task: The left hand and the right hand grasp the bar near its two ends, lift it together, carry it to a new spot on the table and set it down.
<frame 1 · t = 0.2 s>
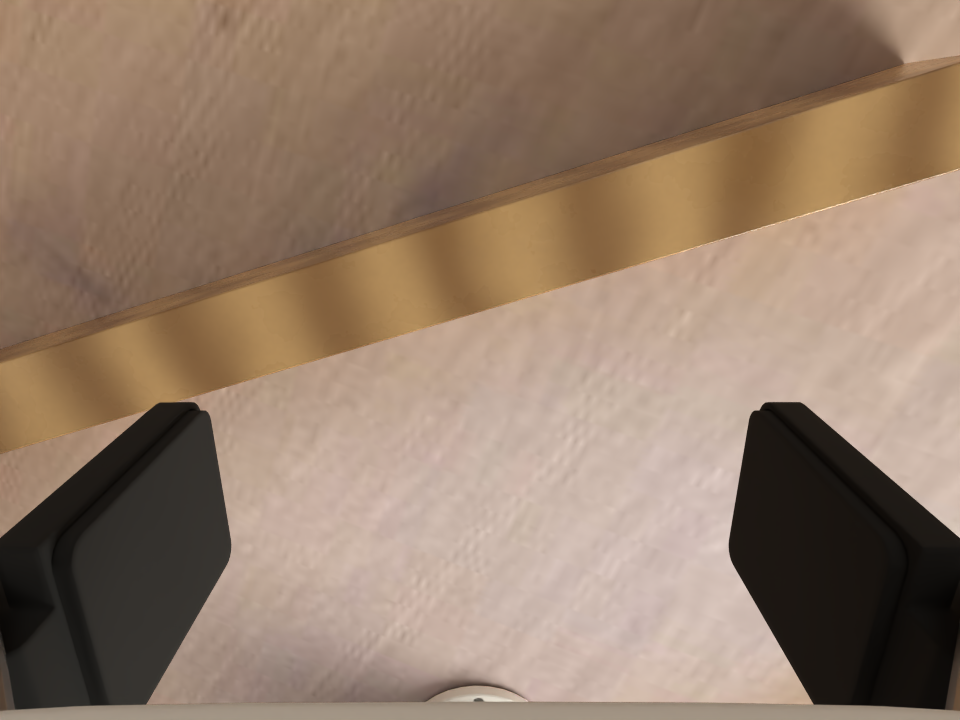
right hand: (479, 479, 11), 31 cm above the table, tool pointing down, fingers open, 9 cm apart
bar: (357, 278, 41), on the table
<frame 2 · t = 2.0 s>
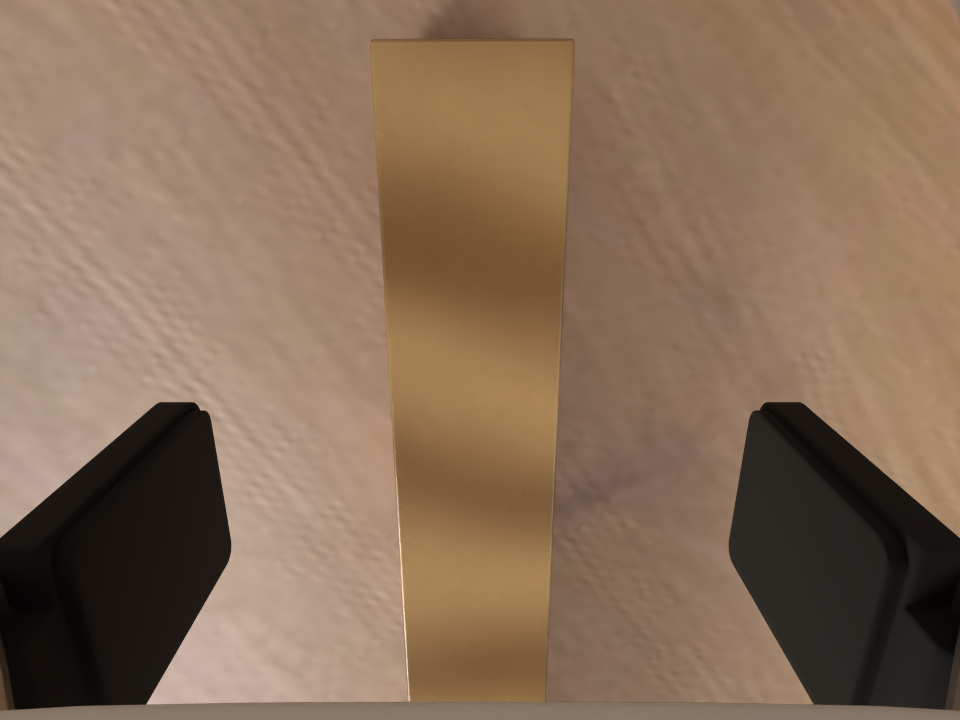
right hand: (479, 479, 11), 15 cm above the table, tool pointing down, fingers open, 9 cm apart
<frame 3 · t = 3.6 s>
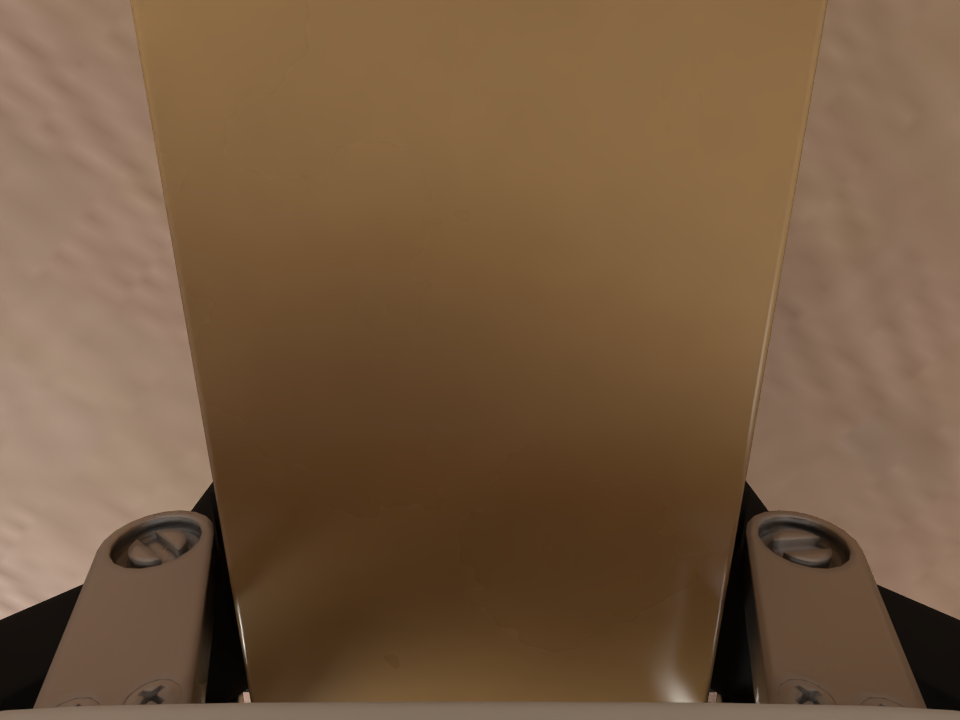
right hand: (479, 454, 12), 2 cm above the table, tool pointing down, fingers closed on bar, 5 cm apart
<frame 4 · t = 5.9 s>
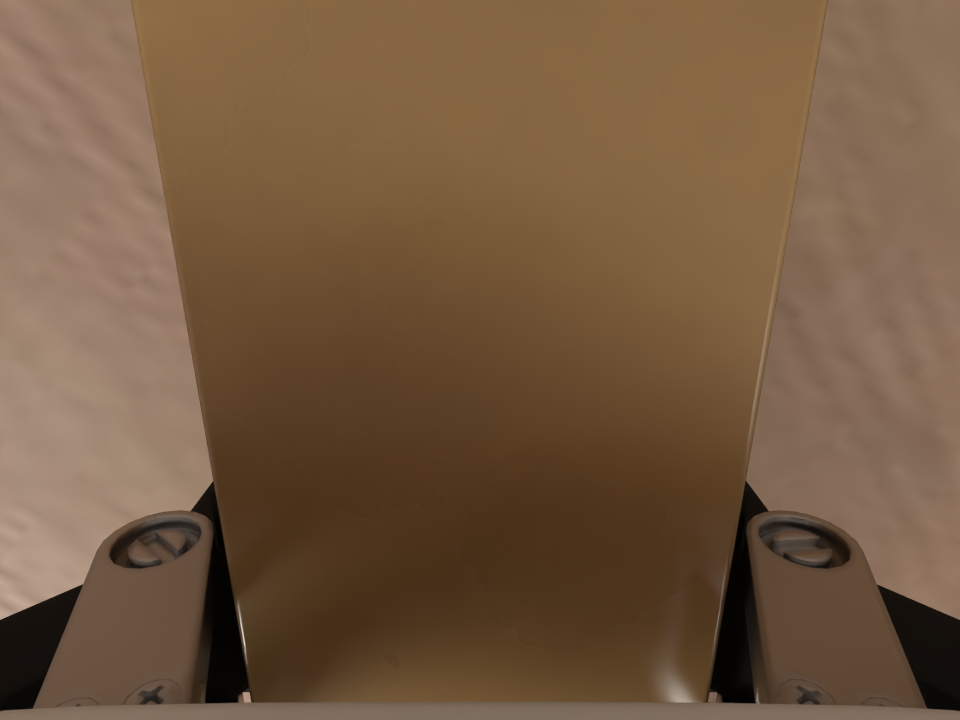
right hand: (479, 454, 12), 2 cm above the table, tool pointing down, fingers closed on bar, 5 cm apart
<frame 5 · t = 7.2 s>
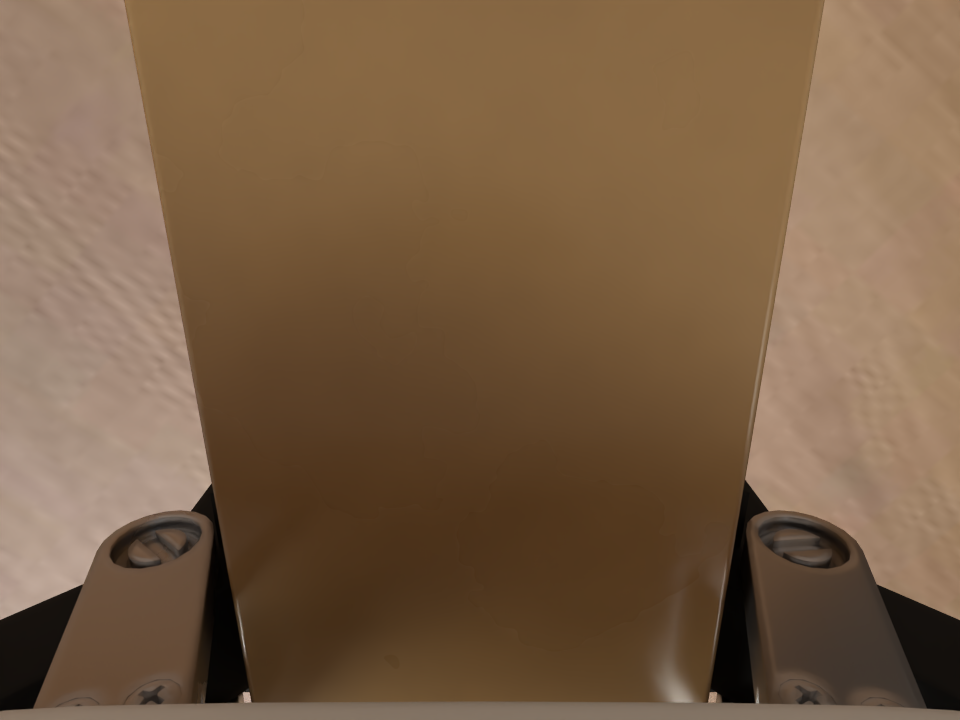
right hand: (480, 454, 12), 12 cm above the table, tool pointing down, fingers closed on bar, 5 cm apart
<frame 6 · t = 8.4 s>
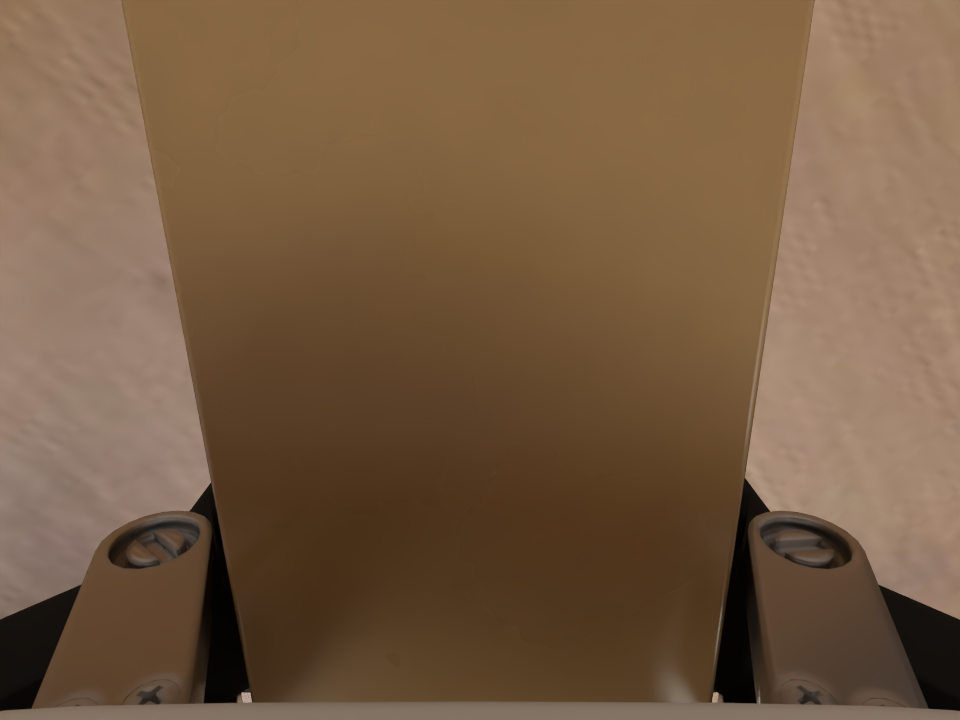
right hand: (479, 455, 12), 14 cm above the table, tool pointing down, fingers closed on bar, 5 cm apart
when the left hand's fingers open (2 cm above the table, at t = 10.8 s): bar stays where it is, on the table.
when the right hand's fingers open (3 cm above the table, at t = 10.9 s): bar stays where it is, on the table.
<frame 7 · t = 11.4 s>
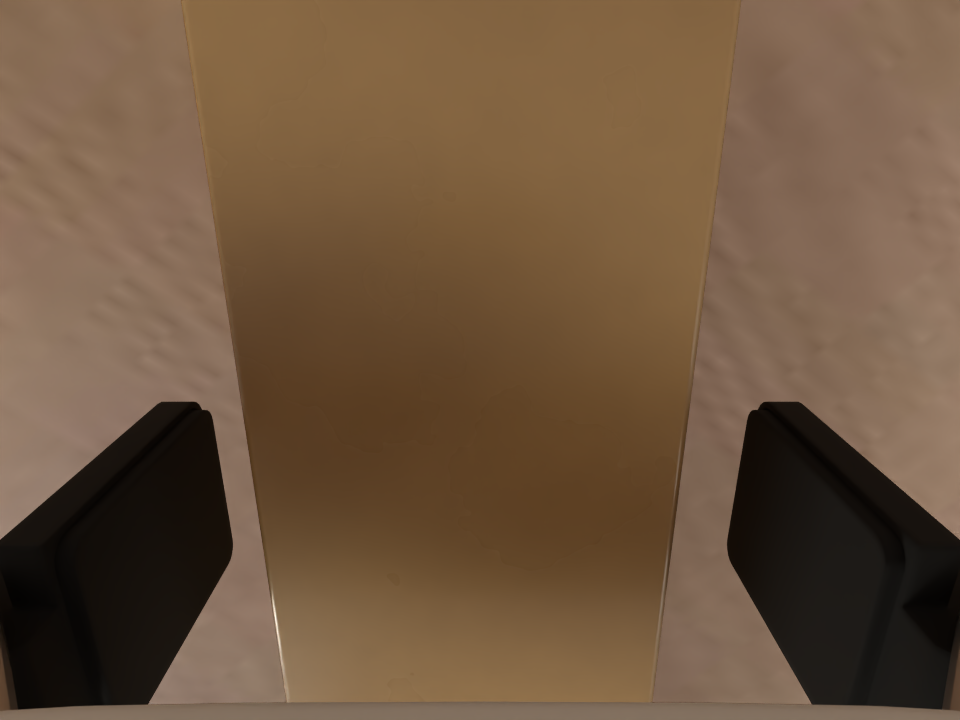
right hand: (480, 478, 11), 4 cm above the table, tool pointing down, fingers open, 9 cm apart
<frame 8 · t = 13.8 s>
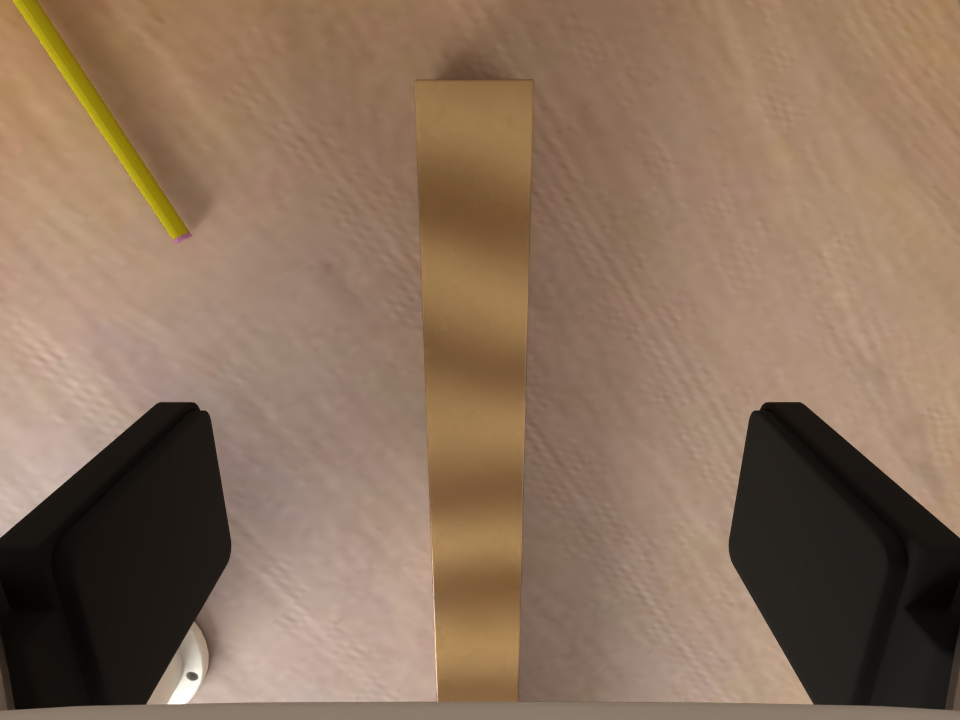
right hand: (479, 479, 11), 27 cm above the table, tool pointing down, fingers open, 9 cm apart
bar: (477, 612, 46), on the table
pencil: (98, 100, 34), on the table
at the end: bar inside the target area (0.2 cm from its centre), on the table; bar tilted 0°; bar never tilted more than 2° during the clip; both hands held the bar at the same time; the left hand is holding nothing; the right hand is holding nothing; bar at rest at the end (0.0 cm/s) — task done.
